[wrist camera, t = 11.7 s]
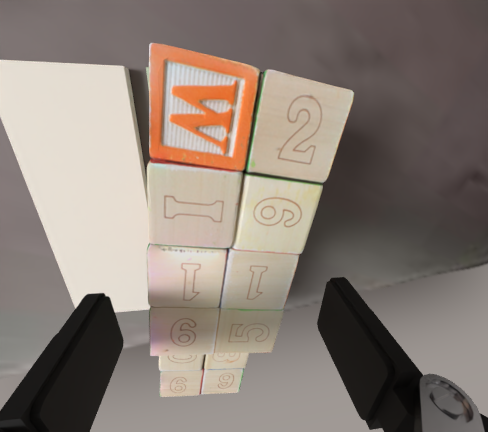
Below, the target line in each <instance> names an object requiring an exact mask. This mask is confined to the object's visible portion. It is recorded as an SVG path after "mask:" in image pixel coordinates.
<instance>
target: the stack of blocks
mask: <svg viewBox="0 0 488 432" xmlns="http://www.w3.org/2000/svg"><path fill="white" fill-rule="evenodd" d="M353 98H354V92H353V91H352V90H349V89H344V88H340V87H336V86H332V85H328V84H324V83H320V82H317V81H313V80H309V79H305V78H301V77H297V76H294V75H290V74H286V73H282V72H279V71H275V70H266V71H265V72H263V73H262V72H260V71H259V69H258V68H256V67H253V66H250V65H247V64H244V63H240V62H235V61H231V60H227V59H223V58H219V57H215V56H211V55H207V54H203V53H199V52H194V51H190V50H186V49H181V48H177V47H173V46H169V45H164V44H158V43H151V44H150V45H149V153H150V156H151V160H150V161H149V163H148V165H147V195H148V234H149V244H148V247H147V282H148V304H149V305H150V311H149V327H150V355H151V356H159V370H160V371H161V374H160V394H159V395H160V397H170V396H195V395H199V394H216V393H236V392H239V389H240V385H241V380H242V377H243V372H244V368H245V366H246V363H247V359H248V355H249V353H270V352H272V349H273V347H274V344H275V340H276V337H277V333H278V330H279V327H280V324H281V321H282V317H283V314H284V306H285V303H286V300H287V297H288V294H289V291H290V287H291V283H292V280H293V277H294V274H295V271H296V268H297V264H298V259H299V255H300V254H301V253H302V252H303V249H304V246H305V244H306V240H307V237H308V234H309V231H310V228H311V225H312V222H313V219H314V215H315V212H316V209H317V206H318V203H319V199H320V196H321V193H322V189H323V186H322V183H323V182H325V181H326V179H327V178H328V176H329V173H330V169H331V166H332V163H333V160H334V157H335V154H336V151H337V148H338V145H339V142H340V139H341V136H342V133H343V130H344V127H345V124H346V121H347V118H348V115H349V112H350V109H351V106H352V103H353Z"/></svg>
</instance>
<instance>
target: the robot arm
mask: <svg viewBox="0 0 488 432" xmlns="http://www.w3.org/2000/svg"><path fill="white" fill-rule="evenodd" d="M317 325H318V329H319V332H320V334H321V336H322V338H323V340H324V342H325V345H326V346H327V349H328V351H329V353H330V355H331V357H332V359H333V362H334V364H335V366H336V368H337V370H338V372H339V374H340V376H341V378H342V380H343V383H344V385H345V387H346V389H347V391H348V393H349V395H350V397H351V400H352V402H353V404H354V406H355V408H356V410H357V412H358V414H359V416H360V417H361V419H363V420H365V421H366V423H367V425H368V427H369V429H370V430H372V429H378V428H383V430H384V432H488V418H487V417H486V416H484V415H482V414H480V413H479V411H478V409H477V406H476V405H475V404H474V402H473V401H472V399H471V398H470V397H469V396H468V395H467V394H466V393H465V392H464V391H463V390H462V389H461V388H460V387H458V386H457V385H456V384H455V383H453V382H451V381H450V380H448V379H446V378H444V377H442V376H439V375H435V374H427V375H424V376H423V374H422V373H421V372H420V371H419V369H418V368H417V367H416V366H415V364H414V363H413V362H412V361H411V359H410V358H409V357H408V355H407V354H406V353H405V352H404V351H403V349H402V348H401V347H400V345H399V344H398V343H397V342H396V340H395V339H394V338H393V336H392V335H391V334H390V333H389V331H388V330H387V329H386V328H385V326H384V325H383V324H382V323H381V321H380V320H379V319H378V317H377V316H376V315H375V314H374V312H373V311H372V310H371V309H370V308H369V307H368V306H367V304H366V303H365V302H364V300H363V299H362V298H361V297H360V295H359V294H358V293H357V291H356V290H355V289H354V288H353V286H352V285H351V284H350V283H349V281H348V280H347V279H346V278H344V277H340V278H331V279H330V281H329V282H327V284H326V288H325V292H324V297H323V301H322V305H321V310H320V313H319V318H318V322H317ZM122 348H123V337H122V334H121V331H120V328H119V325H118V321H117V318H116V315H115V312H114V309H113V306H112V303H111V300H110V297H109V296H106V295H105V294H104V293H94V294H87V295H85V296H84V298H83V299H82V300H81V302H80V303H79V305H78V306H77V307H76V309H75V310H74V312H73V313H72V314H71V316H70V317H69V319H68V320H67V321H66V323H65V324H64V326H63V327H62V329H61V330H60V331H59V333H57V334H56V335H55V336H54V337H53V339H52V340H51V341H50V343H49V344H48V346H47V347H46V348H45V350H44V351H43V352H42V354H41V355H40V357H39V358H38V359H37V361H36V362H35V364H34V365H33V366H32V368H31V369H30V370H29V372H28V373H27V375H26V376H25V377H24V379H23V380H22V382H21V383H20V384H19V386H18V387H17V388H16V390H15V391H14V393H13V394H12V395H11V397H10V398H9V400H8V401H7V402H6V404H5V405H4V407H3V408H2V409H1V411H0V432H90V429H91V426H92V424H93V421H94V419H95V416H96V414H97V411H98V409H99V406H100V404H101V401H102V398H103V396H104V394H105V391H106V388H107V386H108V383H109V381H110V378H111V376H112V373H113V371H114V368H115V366H116V363H117V361H118V358H119V355H120V353H121V351H122Z"/></svg>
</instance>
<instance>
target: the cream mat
mask: <svg viewBox="0 0 488 432" xmlns="http://www.w3.org/2000/svg"><path fill="white" fill-rule="evenodd" d="M0 117H1V120H2V122H3V125H4V127H5V130H6V132H7V135H8V137H9V140H10V143H11V145H12V148H13V150H14V153H15V155H16V158H17V160H18V163H19V166H20V168H21V171H22V173H23V176H24V178H25V181H26V183H27V186H28V189H29V191H30V194H31V196H32V199H33V201H34V204H35V206H36V209H37V211H38V214H39V217H40V219H41V222H42V224H43V227H44V229H45V232H46V234H47V237H48V240H49V242H50V245H51V247H52V250H53V252H54V255H55V257H56V260H57V263H58V265H59V268H60V270H61V273H62V275H63V278H64V280H65V283H66V286H67V288H68V291H69V293H70V296H71V298H72V301H73V303H74V306H75V309H76V307H77V306H78V305H79V303H80V302H81V300H82V299H83V298H84V296H85V295H87V294H94V293H104V294H105V295H106V296H109V297H110V300H111V303H112V306H113V309H114V312H125V311H136V310H148V309H150V305H149V304H148V282H147V247H148V244H149V234H148V195H147V179H146V173H145V167H144V161H143V155H142V148H141V142H140V136H139V130H138V124H137V118H136V112H135V105H134V99H133V93H132V87H131V81H130V75H129V69H128V68H126V67H124V66H112V65H92V64H72V63H53V62H33V61H13V60H0Z"/></svg>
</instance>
